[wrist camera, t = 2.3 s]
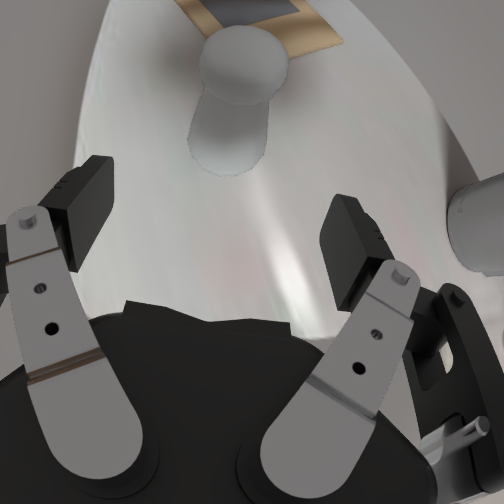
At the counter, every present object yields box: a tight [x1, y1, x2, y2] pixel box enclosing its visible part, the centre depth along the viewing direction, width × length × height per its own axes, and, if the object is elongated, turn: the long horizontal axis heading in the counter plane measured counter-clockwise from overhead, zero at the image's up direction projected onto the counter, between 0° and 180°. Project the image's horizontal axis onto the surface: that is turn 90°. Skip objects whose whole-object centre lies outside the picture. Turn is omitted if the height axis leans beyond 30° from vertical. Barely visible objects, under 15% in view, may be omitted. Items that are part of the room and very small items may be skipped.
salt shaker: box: [187, 25, 289, 176], centre depth 19 cm, size 6×6×13 cm
